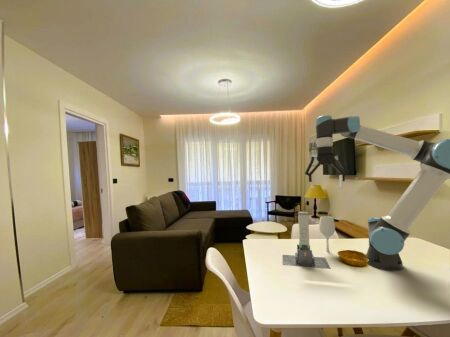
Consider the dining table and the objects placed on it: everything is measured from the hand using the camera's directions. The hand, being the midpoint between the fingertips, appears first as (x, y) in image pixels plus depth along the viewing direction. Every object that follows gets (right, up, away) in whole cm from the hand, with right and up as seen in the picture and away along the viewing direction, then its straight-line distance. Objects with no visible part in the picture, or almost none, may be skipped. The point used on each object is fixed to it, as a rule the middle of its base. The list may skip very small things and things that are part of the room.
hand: (326, 188), depth 111 cm
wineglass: (+7, -39, +13) cm, 42 cm away
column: (-11, -32, +1) cm, 33 cm away
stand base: (-11, -39, +1) cm, 40 cm away
